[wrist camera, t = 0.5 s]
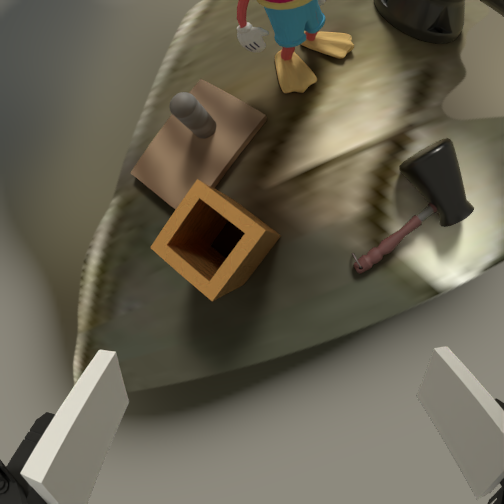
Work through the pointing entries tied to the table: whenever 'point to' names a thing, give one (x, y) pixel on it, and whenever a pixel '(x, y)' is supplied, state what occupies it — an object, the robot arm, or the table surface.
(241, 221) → the frame
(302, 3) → the toy
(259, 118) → the post
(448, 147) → the pink handled mallet
